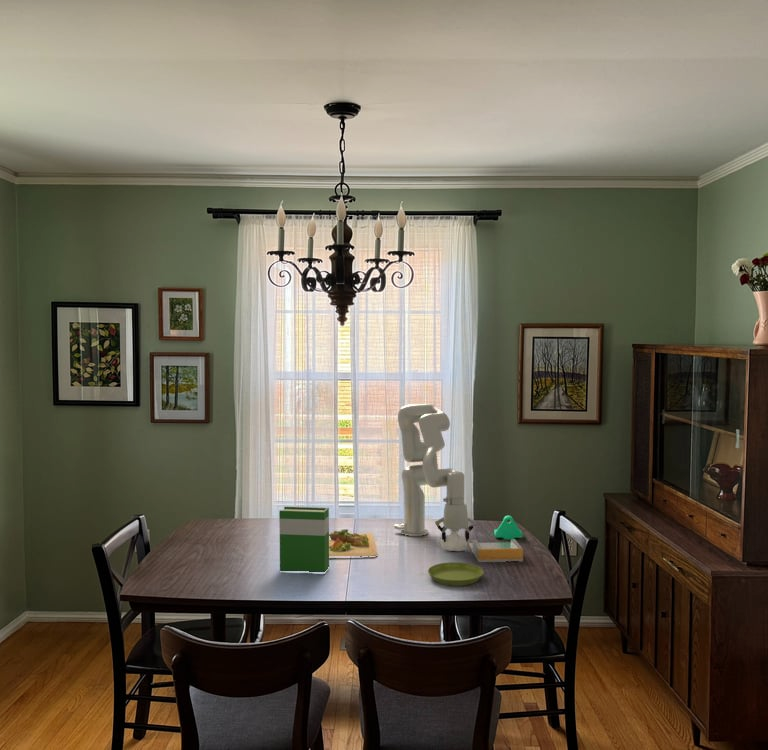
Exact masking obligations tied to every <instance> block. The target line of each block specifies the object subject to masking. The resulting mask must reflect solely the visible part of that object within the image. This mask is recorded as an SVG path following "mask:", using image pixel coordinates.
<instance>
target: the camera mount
mask: <svg viewBox="0 0 768 750" xmlns="http://www.w3.org/2000/svg"><path fill="white" fill-rule="evenodd" d="M508 520H509V522H508ZM493 531H494V532H493V534H494V537H495V538H502V539H503V540H510V539H516V538H520V539H523V532H522V530H521V529H520V528H519V526H518V525H517V524H516V522H515V520H514V518H513V517H512V515H505V516H504V517H503V519H502V522H501V523H500V524H499V527H497V529H494V530H493Z"/></svg>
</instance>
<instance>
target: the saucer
mask: <svg viewBox="0 0 768 750" xmlns="http://www.w3.org/2000/svg"><path fill="white" fill-rule="evenodd" d="M427 573H428V574H429V576H430V577H431V578H432V580H434V581H435V582H436V583H438V584H441V585H444V584H445V585H446V586H451V587H452V586H455V587H461V586H463V585H464V586H469V585H473V584H475V583H476V582H477V581H479V580H480V579H481V578H482V577H483V575H484V569H483V568H482V567H480V566H478V565H475V564H472V563H468V562H460V561H459V562H453V561H452V562H442V563H437V564H434V565H431V566H430V567H428V569H427Z"/></svg>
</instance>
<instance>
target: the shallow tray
mask: <svg viewBox="0 0 768 750" xmlns="http://www.w3.org/2000/svg"><path fill="white" fill-rule="evenodd" d="M468 546H469V548H470V549H471V551H472V553H473V555H474V556H475V558H476V560H477V562H478V563H504V562H505V563H506V561H509V562H508V563H510V561H519V562H524V549H523V547H522V546H521V545H520V544H519V542H518V541H517V540H516V538H514V539H511V540H510V542H509V541H508V542H507V541H505V542H504V541H503V542H479V541H478V540H477V539H472V542H468Z"/></svg>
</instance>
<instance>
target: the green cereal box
mask: <svg viewBox="0 0 768 750" xmlns="http://www.w3.org/2000/svg"><path fill="white" fill-rule="evenodd" d="M278 512H279V513H278V515H279V521H278V522H279V572H280V571H309V572H325V571H326V570H327V569H328V567H329V568H330V559H329V534H330V508H329V507H317V506H316V507H315V506H311V507H310V506H284V507H283V509H281V510H279V511H278Z"/></svg>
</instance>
